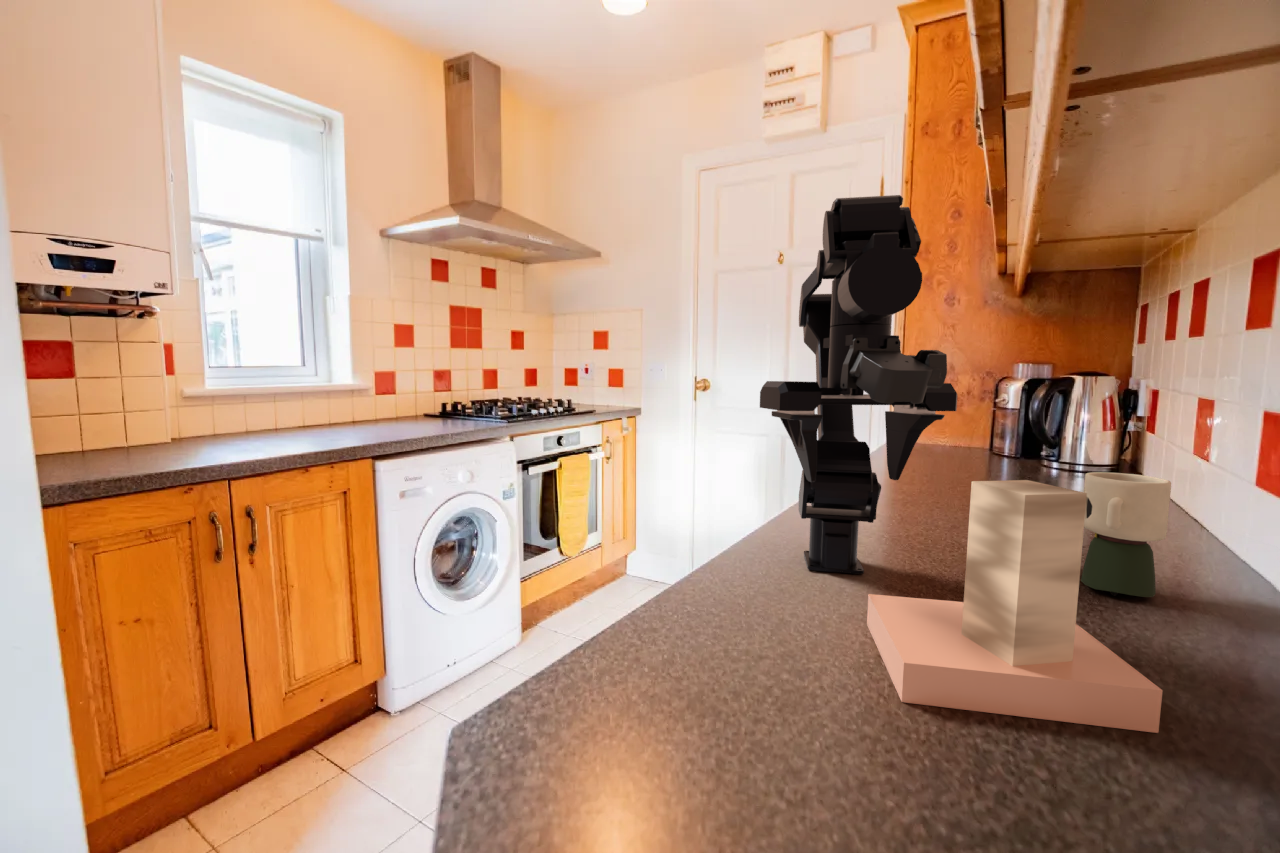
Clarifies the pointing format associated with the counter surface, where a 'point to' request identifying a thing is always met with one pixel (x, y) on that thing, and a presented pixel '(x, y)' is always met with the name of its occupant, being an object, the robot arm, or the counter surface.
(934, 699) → the terracotta stand
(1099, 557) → the character mug
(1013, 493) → the birch block
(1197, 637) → the counter surface
